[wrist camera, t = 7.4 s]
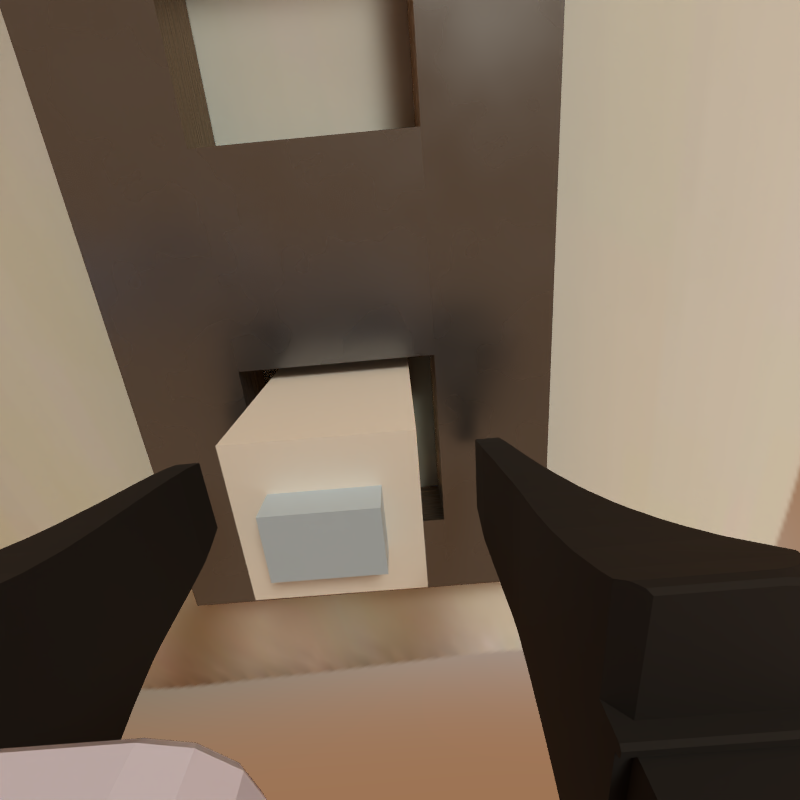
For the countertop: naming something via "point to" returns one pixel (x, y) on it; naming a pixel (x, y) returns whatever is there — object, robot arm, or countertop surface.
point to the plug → (328, 481)
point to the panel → (313, 239)
